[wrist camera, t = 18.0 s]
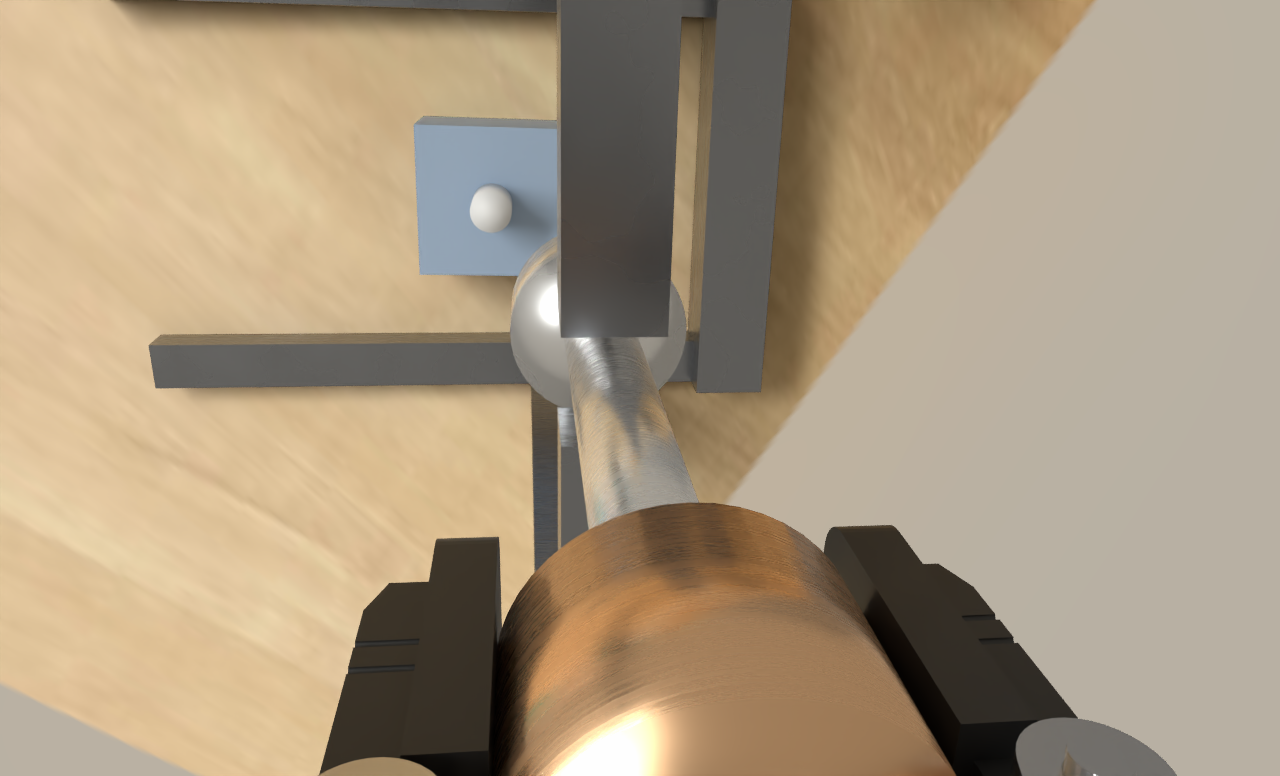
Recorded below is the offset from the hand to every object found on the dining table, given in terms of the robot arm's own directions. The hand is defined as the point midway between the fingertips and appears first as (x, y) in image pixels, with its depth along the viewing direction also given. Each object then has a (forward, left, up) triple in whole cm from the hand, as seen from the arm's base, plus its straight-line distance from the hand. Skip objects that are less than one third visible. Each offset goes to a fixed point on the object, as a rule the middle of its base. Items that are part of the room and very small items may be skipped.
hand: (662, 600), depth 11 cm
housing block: (0, -3, -33) cm, 33 cm away
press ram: (0, 0, -13) cm, 13 cm away
